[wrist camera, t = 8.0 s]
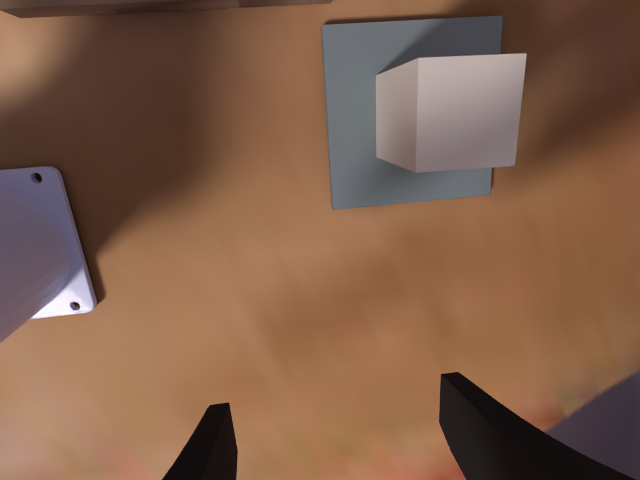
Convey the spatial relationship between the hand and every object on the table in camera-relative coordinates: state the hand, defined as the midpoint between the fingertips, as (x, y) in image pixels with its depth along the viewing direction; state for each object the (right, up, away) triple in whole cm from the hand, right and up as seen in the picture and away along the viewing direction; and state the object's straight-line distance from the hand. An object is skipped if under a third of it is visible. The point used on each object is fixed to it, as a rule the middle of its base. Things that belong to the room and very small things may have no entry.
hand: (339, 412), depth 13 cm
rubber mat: (+4, +12, +7) cm, 15 cm away
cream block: (+4, +12, +7) cm, 15 cm away
